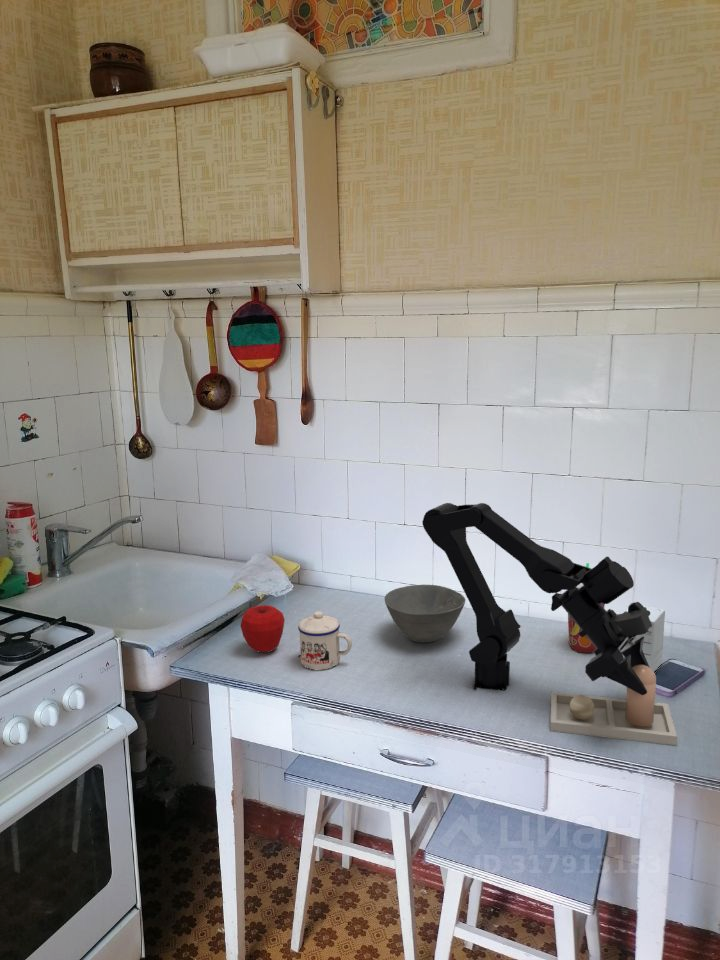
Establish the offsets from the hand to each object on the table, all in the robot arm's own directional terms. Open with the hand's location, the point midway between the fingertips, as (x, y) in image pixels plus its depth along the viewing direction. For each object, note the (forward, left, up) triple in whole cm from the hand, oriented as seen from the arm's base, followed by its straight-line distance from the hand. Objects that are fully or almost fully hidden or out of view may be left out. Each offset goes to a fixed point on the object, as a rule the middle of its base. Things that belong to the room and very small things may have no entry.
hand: (649, 687), depth 128 cm
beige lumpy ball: (-11, +1, -8) cm, 14 cm away
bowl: (-46, +30, -8) cm, 55 cm away
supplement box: (+1, +25, -9) cm, 26 cm away
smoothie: (-10, +32, -8) cm, 35 cm away
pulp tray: (-6, +1, -8) cm, 10 cm away
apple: (-81, +16, -8) cm, 83 cm away
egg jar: (-1, +1, -7) cm, 7 cm away
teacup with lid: (-65, +13, -8) cm, 67 cm away
